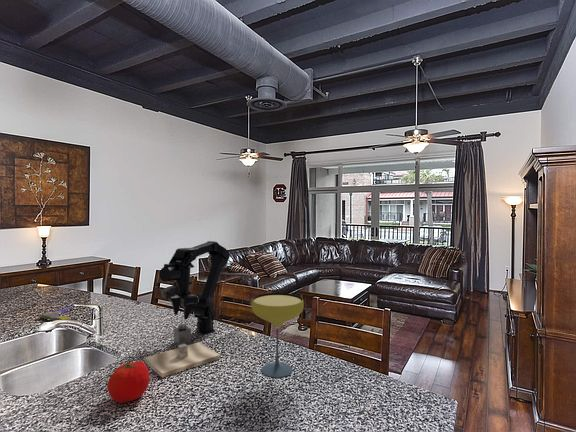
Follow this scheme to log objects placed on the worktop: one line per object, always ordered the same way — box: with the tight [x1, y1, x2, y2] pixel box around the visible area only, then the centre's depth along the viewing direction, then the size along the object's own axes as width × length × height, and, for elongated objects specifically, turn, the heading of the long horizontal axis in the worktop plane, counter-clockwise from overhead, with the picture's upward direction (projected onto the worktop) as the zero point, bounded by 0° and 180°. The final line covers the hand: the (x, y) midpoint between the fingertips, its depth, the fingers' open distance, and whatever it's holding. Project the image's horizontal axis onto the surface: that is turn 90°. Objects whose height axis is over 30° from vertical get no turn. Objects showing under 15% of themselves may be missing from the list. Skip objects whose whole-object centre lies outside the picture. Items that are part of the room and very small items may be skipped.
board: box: [144, 342, 221, 379], centre depth 129 cm, size 22×16×6 cm
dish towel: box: [37, 303, 104, 320], centre depth 181 cm, size 18×24×3 cm
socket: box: [173, 324, 192, 346], centre depth 144 cm, size 5×5×7 cm
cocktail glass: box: [250, 292, 305, 379], centre depth 121 cm, size 18×18×25 cm
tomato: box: [106, 360, 150, 404], centre depth 103 cm, size 11×13×10 cm
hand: (180, 317), depth 144 cm, fingers open, 9 cm apart
